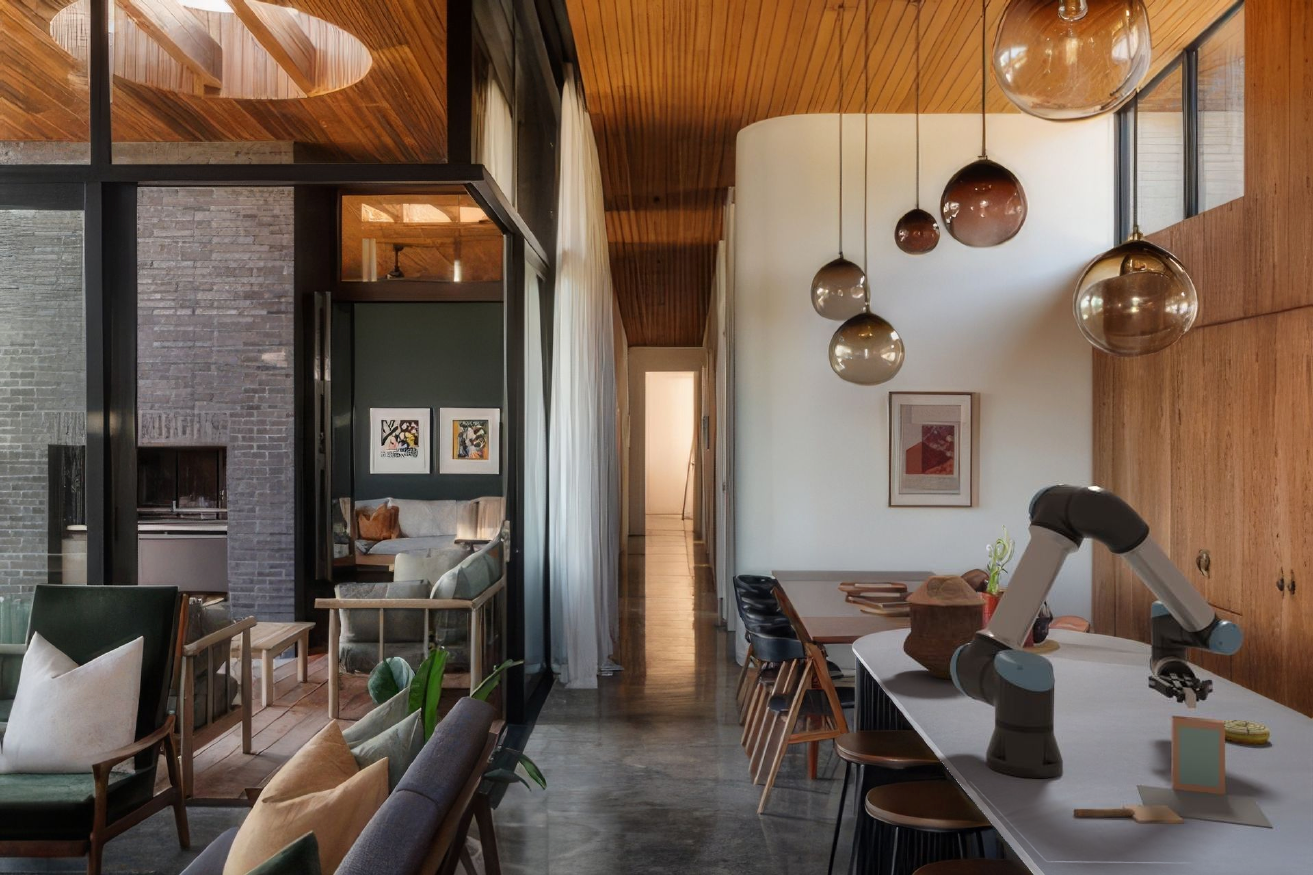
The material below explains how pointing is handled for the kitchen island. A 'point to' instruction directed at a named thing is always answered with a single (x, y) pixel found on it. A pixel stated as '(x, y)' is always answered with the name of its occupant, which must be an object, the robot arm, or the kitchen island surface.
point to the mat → (1206, 806)
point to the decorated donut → (1246, 732)
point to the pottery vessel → (942, 621)
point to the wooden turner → (1135, 814)
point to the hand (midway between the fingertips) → (1192, 701)
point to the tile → (1198, 754)
